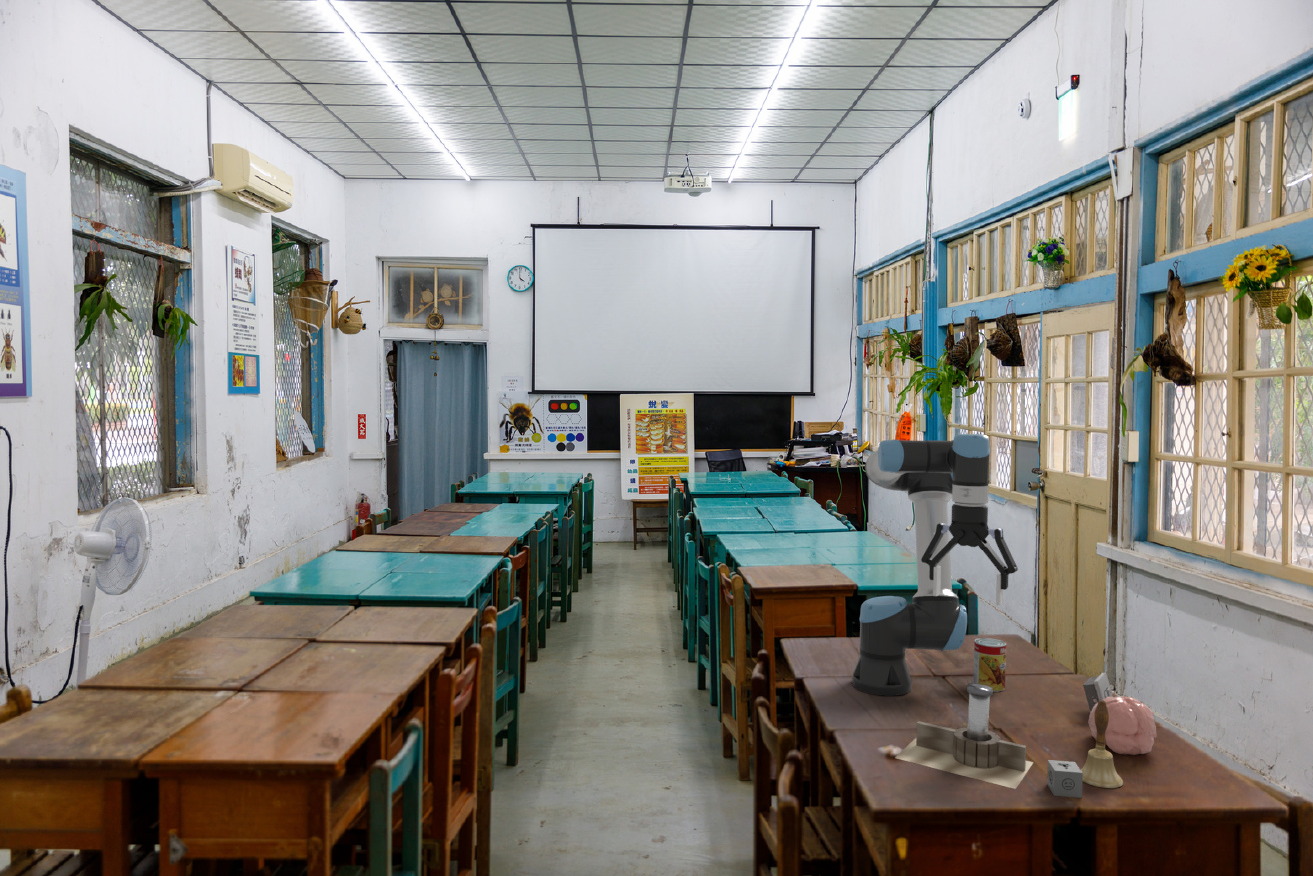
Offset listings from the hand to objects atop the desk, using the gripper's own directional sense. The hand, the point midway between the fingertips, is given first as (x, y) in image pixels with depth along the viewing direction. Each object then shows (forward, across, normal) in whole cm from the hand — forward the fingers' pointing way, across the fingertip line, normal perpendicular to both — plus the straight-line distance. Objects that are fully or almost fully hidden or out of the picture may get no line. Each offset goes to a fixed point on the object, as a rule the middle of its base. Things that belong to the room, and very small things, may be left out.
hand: (967, 599), depth 192 cm
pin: (+30, +6, -12) cm, 33 cm away
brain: (+32, +29, +17) cm, 46 cm away
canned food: (+32, -5, +40) cm, 51 cm away
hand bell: (+32, +28, -4) cm, 43 cm away
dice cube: (+32, +23, -14) cm, 42 cm away
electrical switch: (+32, +22, +36) cm, 53 cm away
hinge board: (+32, +4, -14) cm, 35 cm away
